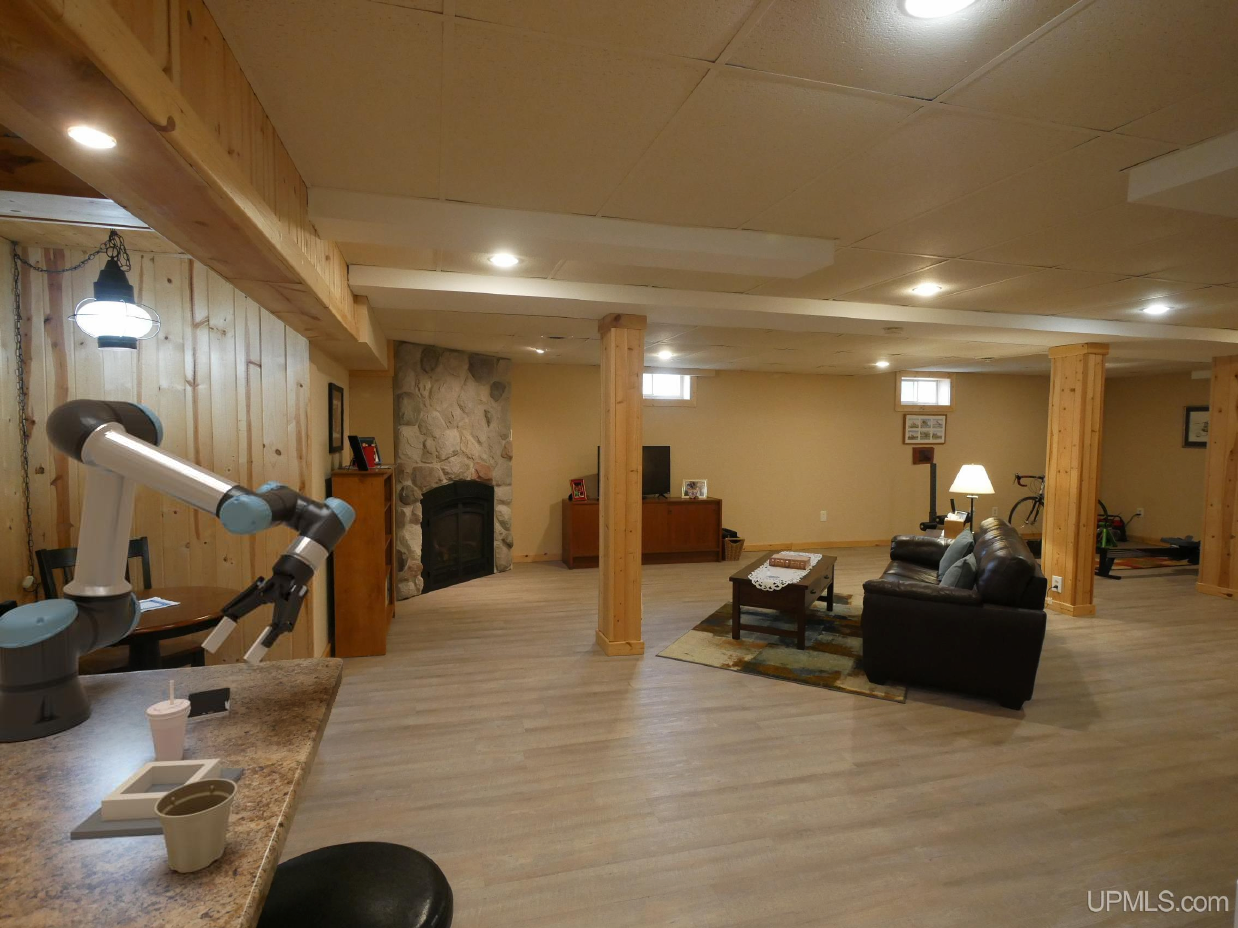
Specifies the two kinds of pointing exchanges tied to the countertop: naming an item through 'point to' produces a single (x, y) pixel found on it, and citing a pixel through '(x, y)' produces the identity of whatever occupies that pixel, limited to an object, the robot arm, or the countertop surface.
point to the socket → (147, 797)
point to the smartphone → (209, 704)
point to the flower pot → (196, 822)
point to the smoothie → (169, 727)
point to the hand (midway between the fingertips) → (227, 655)
